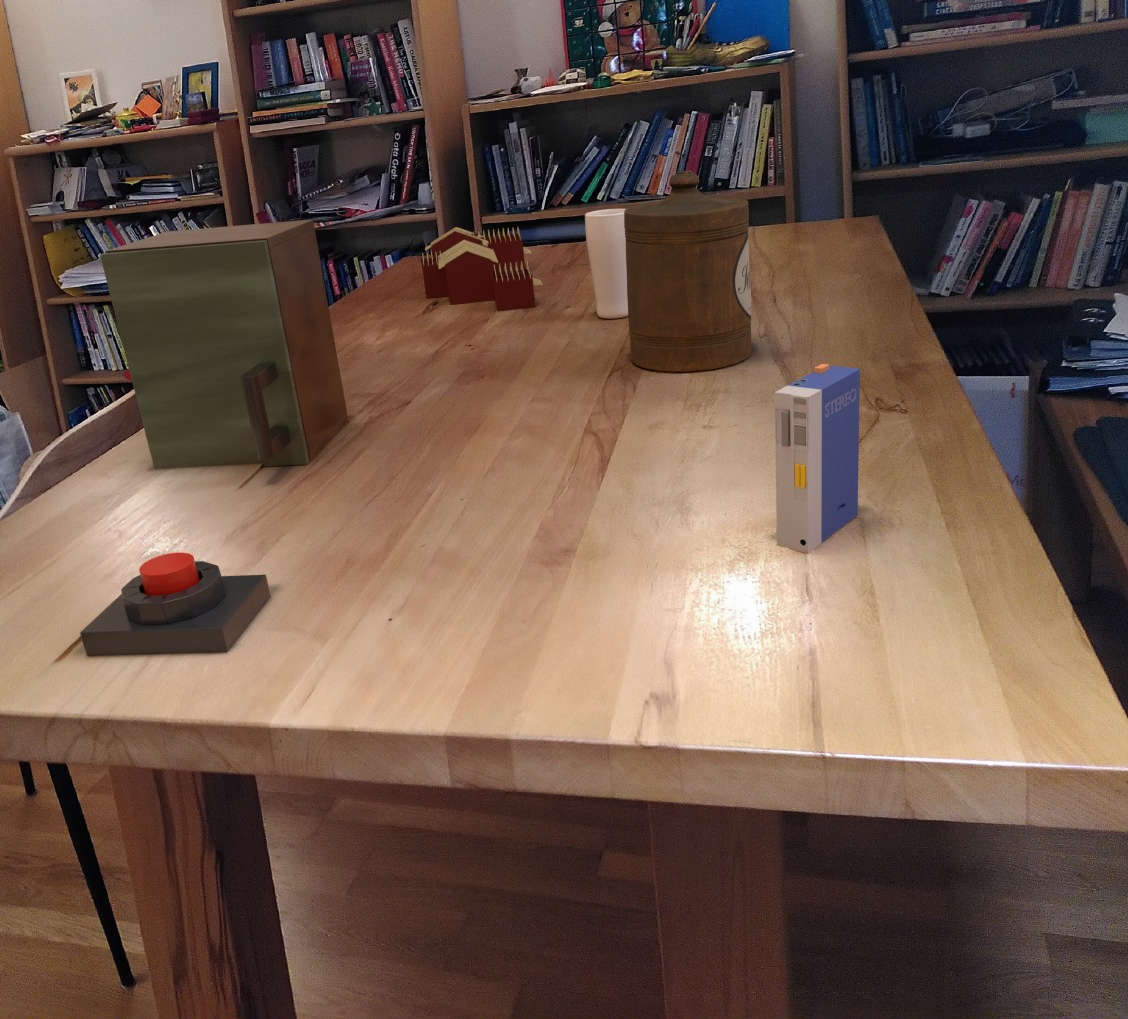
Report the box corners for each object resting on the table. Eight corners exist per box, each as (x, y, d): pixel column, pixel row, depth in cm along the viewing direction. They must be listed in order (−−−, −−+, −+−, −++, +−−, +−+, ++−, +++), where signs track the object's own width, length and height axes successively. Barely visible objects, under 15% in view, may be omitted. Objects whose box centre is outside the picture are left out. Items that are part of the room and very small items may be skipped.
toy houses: (426, 275, 206) (419, 222, 202) (530, 263, 207) (524, 211, 204) (426, 320, 164) (416, 255, 160) (554, 306, 166) (548, 241, 162)
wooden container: (774, 358, 125) (772, 165, 116) (662, 380, 120) (650, 181, 112) (716, 336, 138) (709, 161, 129) (612, 354, 133) (599, 175, 125)
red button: (135, 599, 70) (129, 575, 70) (160, 575, 74) (154, 553, 73) (185, 597, 70) (179, 574, 69) (208, 573, 73) (202, 551, 73)
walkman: (824, 509, 82) (825, 360, 77) (858, 516, 80) (860, 363, 75) (773, 546, 76) (771, 388, 72) (807, 554, 75) (807, 392, 70)
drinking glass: (647, 314, 154) (640, 209, 148) (610, 323, 151) (602, 216, 145) (619, 308, 159) (612, 207, 154) (583, 317, 156) (574, 214, 150)
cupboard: (310, 462, 104) (267, 237, 96) (160, 470, 106) (104, 251, 98) (348, 422, 116) (313, 219, 108) (212, 430, 118) (167, 231, 110)
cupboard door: (289, 484, 98) (241, 250, 90) (129, 492, 100) (68, 264, 92) (310, 461, 104) (267, 239, 96) (158, 469, 106) (103, 253, 98)
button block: (86, 657, 70) (72, 611, 69) (142, 601, 77) (131, 559, 76) (227, 653, 69) (216, 606, 67) (271, 597, 76) (261, 553, 75)
